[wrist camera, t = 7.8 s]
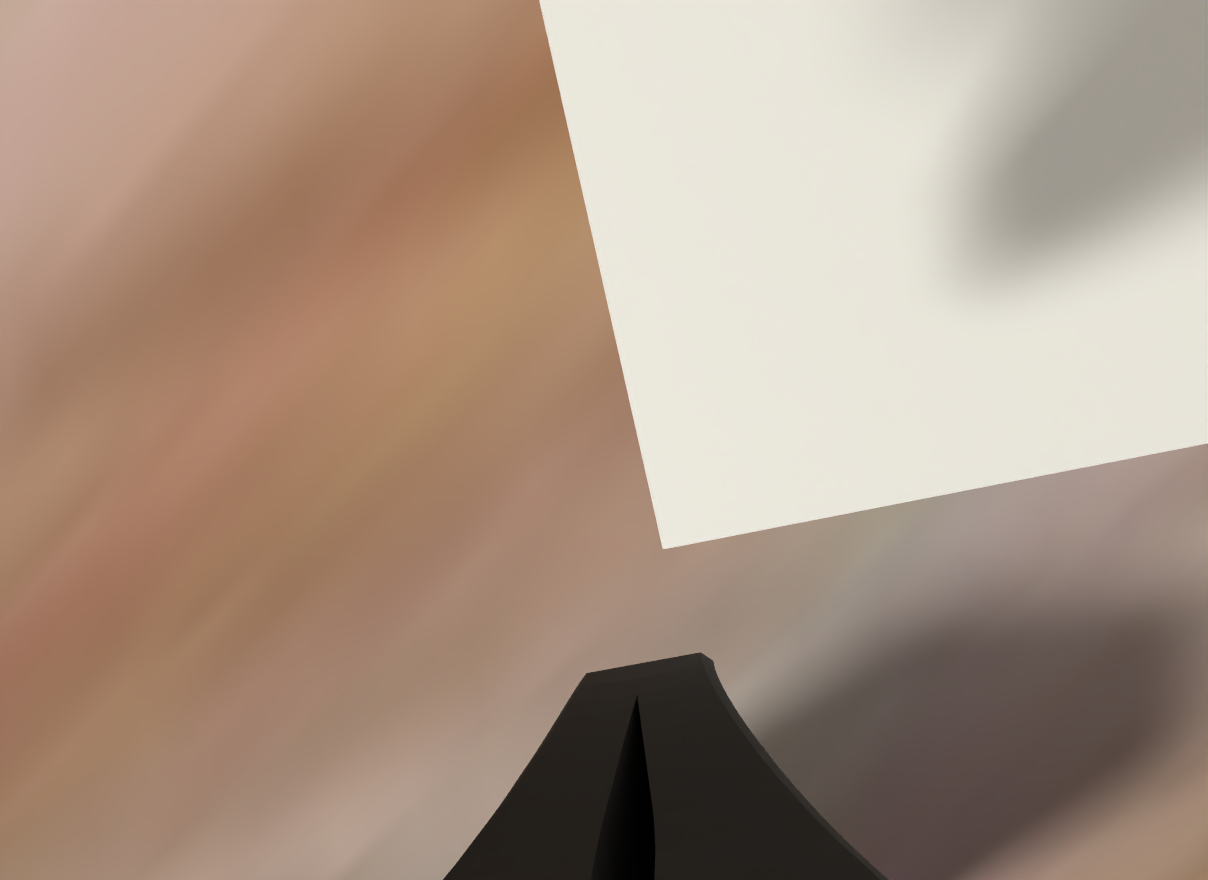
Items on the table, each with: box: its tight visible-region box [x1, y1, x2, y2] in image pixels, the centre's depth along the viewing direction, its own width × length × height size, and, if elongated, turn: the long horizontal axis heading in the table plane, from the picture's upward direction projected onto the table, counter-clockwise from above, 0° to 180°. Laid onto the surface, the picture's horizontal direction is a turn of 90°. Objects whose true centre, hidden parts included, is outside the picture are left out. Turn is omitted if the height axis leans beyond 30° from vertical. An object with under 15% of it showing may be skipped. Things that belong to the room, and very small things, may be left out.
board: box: [539, 0, 1208, 549], centre depth 15 cm, size 12×14×2 cm
